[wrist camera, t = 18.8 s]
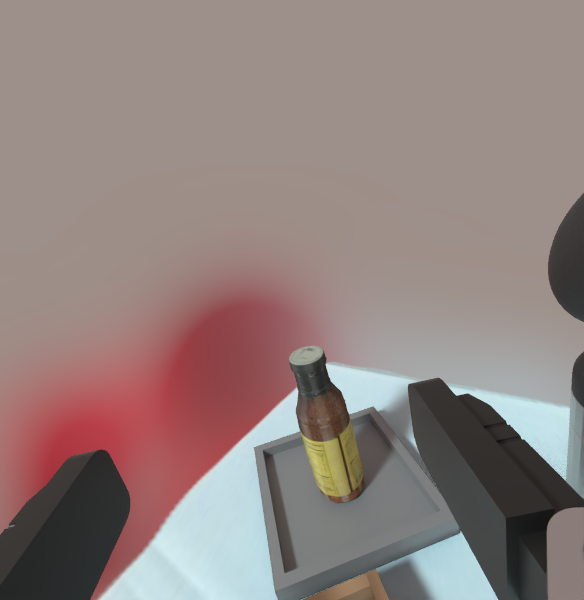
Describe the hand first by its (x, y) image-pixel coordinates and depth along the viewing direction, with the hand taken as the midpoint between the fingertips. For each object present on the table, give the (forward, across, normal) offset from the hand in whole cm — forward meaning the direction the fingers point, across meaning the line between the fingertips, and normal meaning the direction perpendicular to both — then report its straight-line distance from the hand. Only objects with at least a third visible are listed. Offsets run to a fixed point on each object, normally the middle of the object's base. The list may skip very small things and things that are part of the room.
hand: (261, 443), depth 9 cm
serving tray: (+26, -1, +32) cm, 41 cm away
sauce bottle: (+26, -1, +31) cm, 40 cm away
